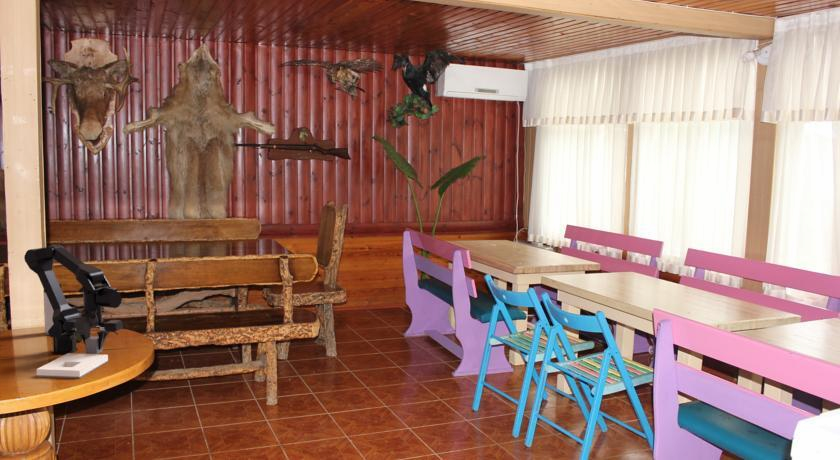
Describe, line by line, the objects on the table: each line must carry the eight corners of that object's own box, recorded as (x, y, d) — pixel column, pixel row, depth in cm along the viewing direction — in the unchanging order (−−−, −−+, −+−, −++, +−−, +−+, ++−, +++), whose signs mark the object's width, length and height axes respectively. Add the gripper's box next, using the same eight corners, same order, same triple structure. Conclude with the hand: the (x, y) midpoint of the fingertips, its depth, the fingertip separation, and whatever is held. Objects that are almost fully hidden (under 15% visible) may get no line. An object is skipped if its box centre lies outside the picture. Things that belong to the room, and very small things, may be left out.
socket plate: (36, 376, 224) (36, 369, 224) (68, 360, 242) (67, 353, 242) (79, 378, 224) (79, 370, 223) (107, 361, 242) (107, 354, 241)
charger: (85, 353, 246) (85, 339, 245) (91, 350, 250) (91, 336, 249) (96, 353, 246) (96, 339, 245) (102, 350, 250) (102, 336, 249)
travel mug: (48, 331, 280) (46, 281, 278) (65, 331, 281) (64, 281, 279) (41, 335, 274) (39, 284, 272) (59, 335, 275) (57, 284, 272)
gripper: (53, 309, 238) (55, 354, 240) (107, 311, 237) (108, 356, 239) (71, 302, 250) (73, 345, 251) (123, 304, 249) (124, 347, 250)
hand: (94, 349), depth 248 cm, fingers closed on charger, 4 cm apart
